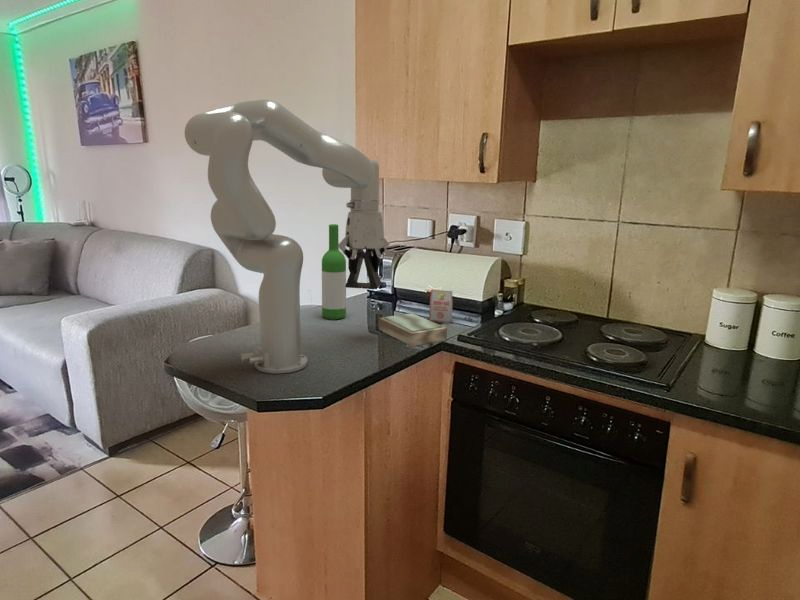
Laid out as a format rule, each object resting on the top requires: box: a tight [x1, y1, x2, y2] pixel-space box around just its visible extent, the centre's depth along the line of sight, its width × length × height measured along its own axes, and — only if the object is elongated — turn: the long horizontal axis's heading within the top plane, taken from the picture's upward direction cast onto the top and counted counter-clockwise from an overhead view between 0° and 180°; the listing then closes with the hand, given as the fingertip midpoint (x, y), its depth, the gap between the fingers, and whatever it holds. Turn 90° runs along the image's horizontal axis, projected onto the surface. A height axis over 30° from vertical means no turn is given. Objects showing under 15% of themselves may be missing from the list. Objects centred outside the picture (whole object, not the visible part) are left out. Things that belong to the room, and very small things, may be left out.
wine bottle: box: [321, 224, 347, 320], centre depth 170 cm, size 8×8×30 cm
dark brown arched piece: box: [346, 246, 382, 290], centre depth 147 cm, size 9×6×12 cm, turn 80°
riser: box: [378, 312, 448, 347], centre depth 156 cm, size 12×18×4 cm, turn 32°
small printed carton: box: [428, 289, 454, 324], centre depth 172 cm, size 4×7×10 cm, turn 74°
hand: (363, 271), depth 148 cm, fingers closed on dark brown arched piece, 6 cm apart
